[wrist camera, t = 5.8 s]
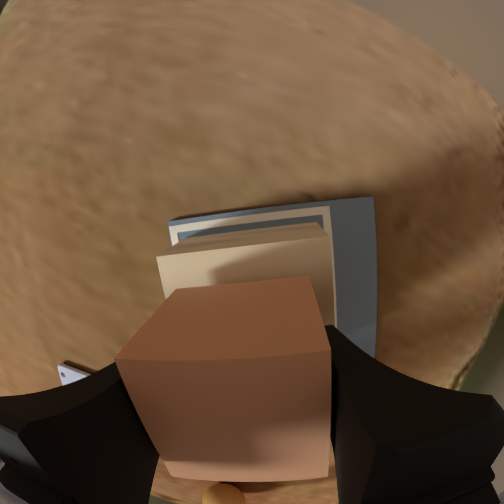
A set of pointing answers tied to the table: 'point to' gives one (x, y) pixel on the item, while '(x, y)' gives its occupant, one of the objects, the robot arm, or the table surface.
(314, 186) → the table surface
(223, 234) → the maple base block
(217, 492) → the figurine
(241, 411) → the terracotta cube
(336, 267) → the mat
